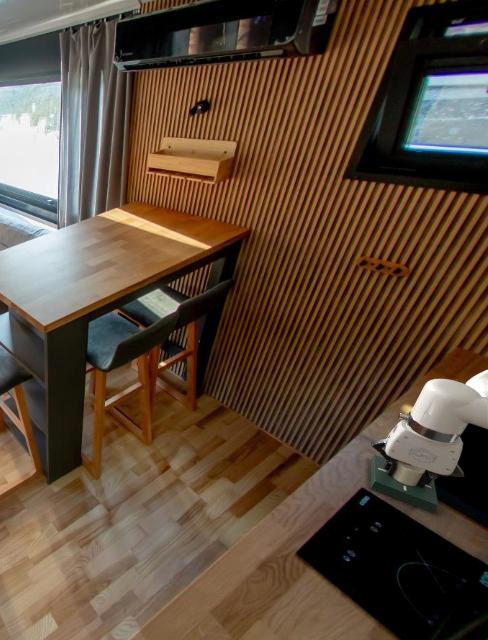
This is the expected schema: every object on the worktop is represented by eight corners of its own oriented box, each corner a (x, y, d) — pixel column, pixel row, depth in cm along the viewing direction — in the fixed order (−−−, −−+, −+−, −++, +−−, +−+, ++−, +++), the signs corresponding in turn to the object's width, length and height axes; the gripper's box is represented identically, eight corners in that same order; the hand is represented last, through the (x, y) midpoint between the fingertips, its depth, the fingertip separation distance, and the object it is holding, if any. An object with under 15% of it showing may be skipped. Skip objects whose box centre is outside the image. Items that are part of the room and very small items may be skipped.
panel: (428, 482, 92) (433, 474, 91) (433, 512, 86) (438, 504, 85) (370, 461, 99) (373, 453, 98) (371, 488, 93) (375, 480, 92)
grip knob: (416, 476, 91) (424, 462, 89) (418, 489, 89) (426, 475, 86) (390, 466, 94) (397, 453, 92) (391, 479, 92) (398, 465, 89)
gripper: (378, 420, 87) (355, 469, 95) (499, 457, 76) (462, 509, 83) (377, 401, 92) (355, 450, 99) (491, 433, 80) (456, 485, 88)
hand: (404, 477), depth 91 cm, fingers closed on grip knob, panel, 4 cm apart
